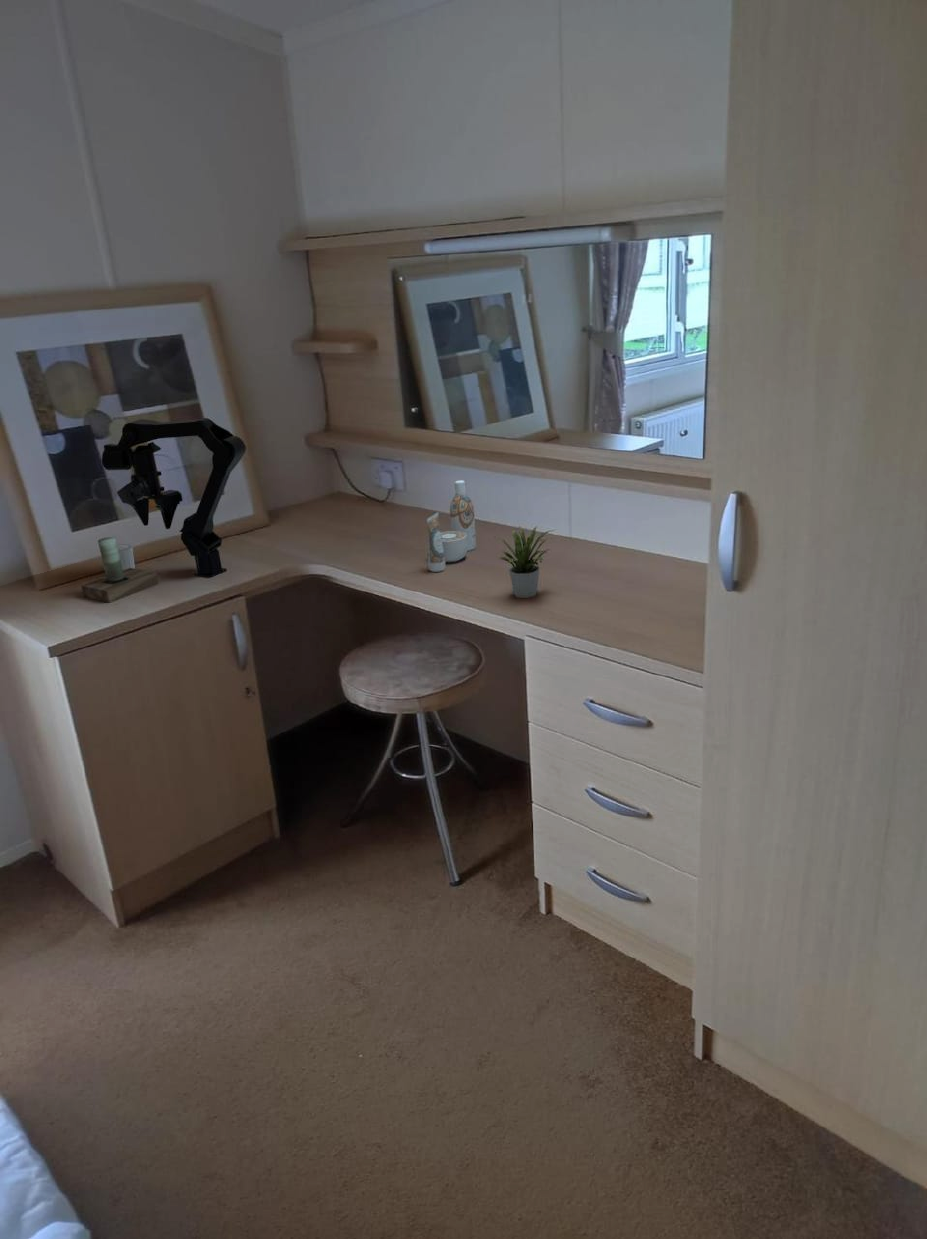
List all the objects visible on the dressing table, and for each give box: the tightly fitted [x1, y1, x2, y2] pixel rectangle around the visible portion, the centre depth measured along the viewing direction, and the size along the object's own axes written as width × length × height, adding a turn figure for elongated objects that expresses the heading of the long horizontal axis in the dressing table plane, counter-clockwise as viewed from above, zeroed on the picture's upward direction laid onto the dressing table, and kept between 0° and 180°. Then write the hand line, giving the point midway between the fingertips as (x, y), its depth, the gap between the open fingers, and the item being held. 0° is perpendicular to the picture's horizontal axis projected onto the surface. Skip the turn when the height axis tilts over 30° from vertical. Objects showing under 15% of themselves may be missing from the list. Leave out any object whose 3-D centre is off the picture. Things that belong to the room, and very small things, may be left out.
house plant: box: [493, 525, 556, 599], centre depth 204 cm, size 14×14×16 cm
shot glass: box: [117, 543, 136, 570], centre depth 244 cm, size 7×7×7 cm
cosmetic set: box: [426, 480, 477, 573], centre depth 232 cm, size 25×9×19 cm, turn 157°
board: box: [80, 568, 159, 603], centre depth 230 cm, size 11×15×3 cm
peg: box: [97, 536, 125, 585], centre depth 227 cm, size 4×4×14 cm
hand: (157, 527), depth 237 cm, fingers open, 9 cm apart
